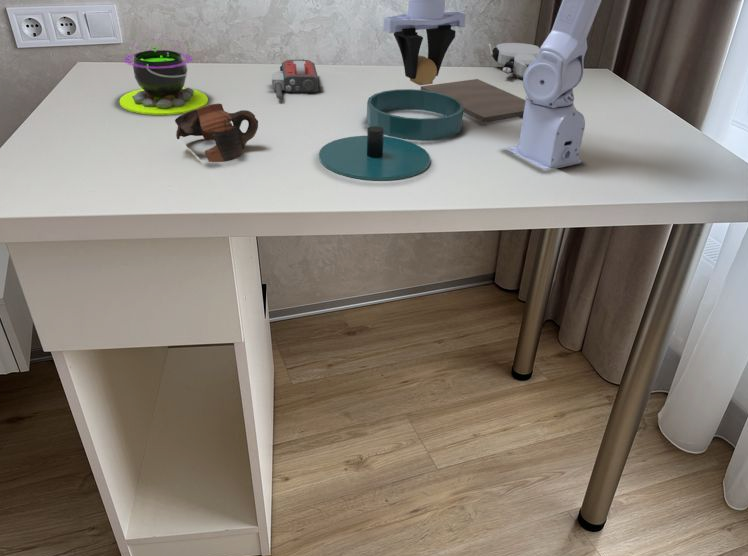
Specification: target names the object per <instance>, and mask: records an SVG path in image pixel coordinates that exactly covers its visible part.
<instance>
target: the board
mask: <svg viewBox="0 0 748 556" xmlns="http://www.w3.org/2000/svg"><path fill="white" fill-rule="evenodd" d="M420 90H426V91H431V92H437V93H441V94H445V95H448V96H451V97H453V98H455V99H457V100H459V101H460V102H461V103H462V104H463V114H465V115H467V116H470V117H471V118H474V119H476V120H478V121H480V122H482V123H489V122H495V121H501V120H506V119H512V118H520V119H523V114H524V107H525V101H526V99H525V98H522V97H520V96H517V95H515V94H512V93H510V92H508V91H506V90H504V89H502V88H499V87H497V86H495V85H492V84H491V83H488V82H485V81H483V80H482V79H479V78H473V79H467V80H466V79H465V80H459V81H458V80H457V81H451V82H444V83H436V84H427V85H420Z"/></svg>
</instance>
